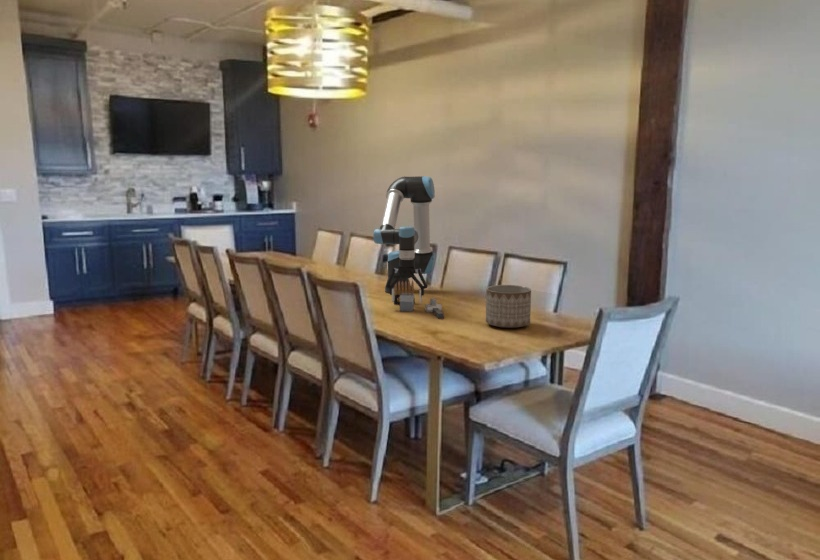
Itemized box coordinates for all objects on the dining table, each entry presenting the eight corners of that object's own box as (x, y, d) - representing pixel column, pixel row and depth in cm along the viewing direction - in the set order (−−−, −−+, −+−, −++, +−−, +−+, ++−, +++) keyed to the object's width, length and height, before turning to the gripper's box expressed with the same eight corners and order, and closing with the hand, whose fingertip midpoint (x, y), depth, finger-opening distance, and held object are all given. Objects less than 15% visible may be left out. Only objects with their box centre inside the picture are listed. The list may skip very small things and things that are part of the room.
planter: (477, 322, 277) (478, 286, 274) (514, 318, 285) (515, 283, 282) (500, 332, 260) (501, 294, 257) (538, 328, 267) (540, 290, 264)
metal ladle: (423, 309, 303) (423, 297, 302) (439, 309, 305) (439, 297, 304) (432, 319, 284) (432, 306, 283) (449, 318, 286) (449, 305, 284)
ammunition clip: (413, 302, 320) (413, 280, 318) (414, 303, 318) (414, 280, 316) (393, 303, 317) (393, 280, 315) (394, 304, 315) (394, 281, 313)
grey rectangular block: (402, 308, 306) (401, 292, 304) (414, 309, 305) (414, 293, 303) (399, 311, 300) (399, 295, 299) (412, 311, 299) (412, 295, 298)
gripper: (379, 259, 296) (380, 302, 300) (431, 260, 292) (431, 304, 296) (383, 257, 304) (383, 299, 307) (433, 258, 300) (433, 301, 303)
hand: (406, 302), depth 301 cm, fingers open, 13 cm apart
